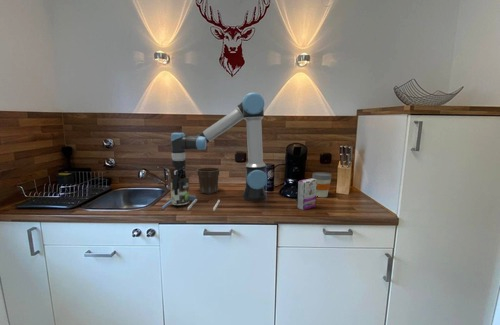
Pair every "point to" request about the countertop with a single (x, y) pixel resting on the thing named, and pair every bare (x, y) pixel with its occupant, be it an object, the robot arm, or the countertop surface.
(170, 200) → the divider rack
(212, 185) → the plant pot
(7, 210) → the countertop surface
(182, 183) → the coffee can
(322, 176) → the reusable coffee cup
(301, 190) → the candy bar box
